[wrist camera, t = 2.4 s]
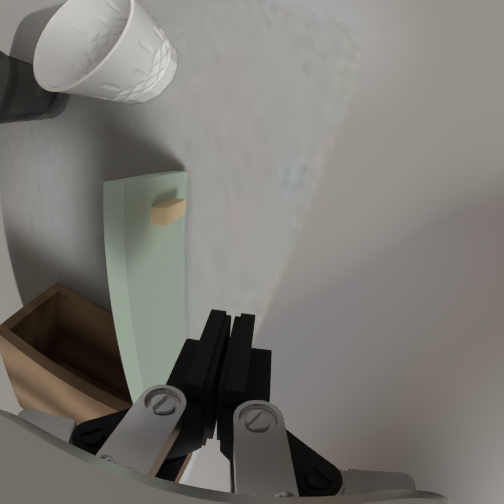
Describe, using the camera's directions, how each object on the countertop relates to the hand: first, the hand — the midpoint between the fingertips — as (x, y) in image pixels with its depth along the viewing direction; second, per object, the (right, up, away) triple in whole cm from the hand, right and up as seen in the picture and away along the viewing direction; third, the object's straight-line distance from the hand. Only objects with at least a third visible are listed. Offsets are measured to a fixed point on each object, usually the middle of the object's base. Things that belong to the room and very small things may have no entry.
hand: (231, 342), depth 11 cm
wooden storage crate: (-17, -9, +18) cm, 26 cm away
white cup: (-9, +19, +9) cm, 23 cm away
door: (-5, +2, +13) cm, 14 cm away
